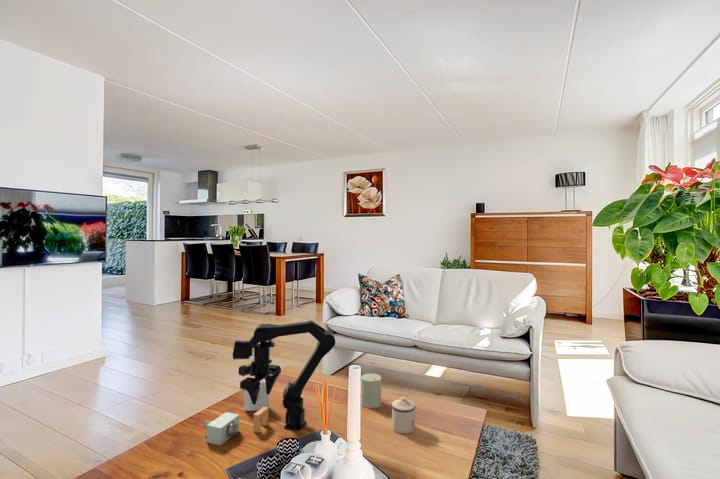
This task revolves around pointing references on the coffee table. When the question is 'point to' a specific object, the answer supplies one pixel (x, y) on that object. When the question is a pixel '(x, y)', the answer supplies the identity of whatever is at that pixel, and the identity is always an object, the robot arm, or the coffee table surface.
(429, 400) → the coffee table surface
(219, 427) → the block
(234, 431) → the pin
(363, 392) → the can
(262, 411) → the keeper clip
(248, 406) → the photo printer
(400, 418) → the teacup with lid
